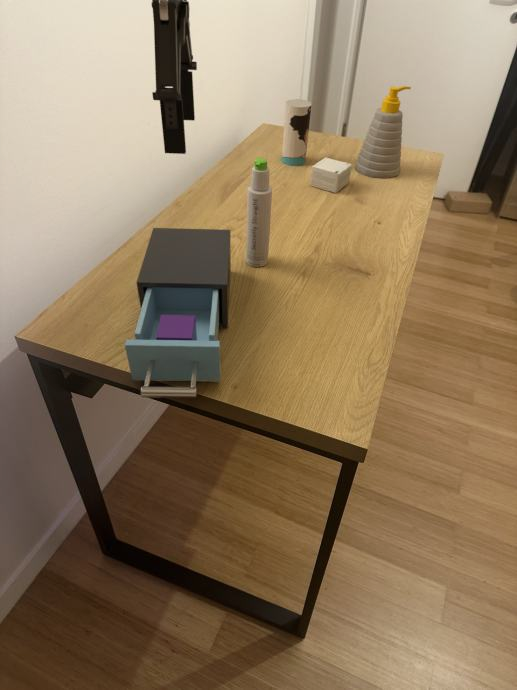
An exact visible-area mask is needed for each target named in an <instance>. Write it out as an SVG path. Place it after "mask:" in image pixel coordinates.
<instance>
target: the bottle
mask: <svg viewBox="0 0 517 690" xmlns="http://www.w3.org/2000/svg"><path fill="white" fill-rule="evenodd" d="M250 177H251V178H250V181H251V182H250V185H248V186H247V191H246V192H247V194H246V195H247V197H246V235H245V236H246V237H245V238H246V240H245V241H246V242H245V262H246V264H247V265H249V266H250V267H254V268H261V267H264V266H266V265H267V264H268V262H269V252H270V251H269V250H270V233H271V216H272V199H273V188H272V187H271V185H270V167H269V166H268V159H267V158H264V157H258V158H256V159H254V166H252V168H251V176H250Z"/></svg>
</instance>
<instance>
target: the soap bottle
mask: <svg viewBox="0 0 517 690" xmlns="http://www.w3.org/2000/svg"><path fill="white" fill-rule="evenodd" d="M411 89H412V87H411V86H406V85H403V86H389V92H388V95H386V97H385V98H383V99H382V101H381V102H382V103H381V107H379V108H377V109H376V110H375V112H374V115H373V117H372V120H371V123H370V125H369V127H368V131H367V133H366V135H365V138H364V139H363V143H362V145H361V147H360V151H359V153H358V155H357V158H356V161H355V163H354V168H355V170H356V171H357V172H358V173H359V174H360V175H363V176H366V177H369V178H370V177H371V178H375V179H391V178H394V177H397V176H398V175H399V174H400V172H401V162H402V161H401V160H402V159H401V157H402V138H403V137H402V135H403V116H404V115H403V112H402V110H400V107H401V100H399V96H398V93H399V92H403V91H404V90H411Z"/></svg>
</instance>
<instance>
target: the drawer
mask: <svg viewBox="0 0 517 690" xmlns="http://www.w3.org/2000/svg"><path fill="white" fill-rule="evenodd" d="M161 315H192V316H195V318H196V331H197V341H191V340H156V335H157V331H158V326H159V322H160V318H161ZM219 317H220V297H219V289H207V288H161V287H147V290H146V294H145V298H144V301H143V305H142V309H141V308H140V313H139V316H138V320H137V324H136V328H135V330H134V337H135V338H134V339H132V338H130V339H129V338H128V339H126V340H125V343H124V348H125V352H126V357H127V361H128V367H129V369H130V370H129V372H130V376H131V380H132V381H144V385H143V386H141V387H140V397H141V398H169V399H170V398H173V399H183V398H184V399H187V398H188V399H196V398H197V396H198V388H197V382H221V381H222V370H221V369H222V367H221V341H220V340H219V329H220V327H219ZM151 381H158V382H159V381H160V382H161V381H163V382H164V381H167V382H173V381H174V382H180V381H181V382H190V386H154V385H153V386H152V385H151Z"/></svg>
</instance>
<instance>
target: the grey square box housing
mask: <svg viewBox="0 0 517 690" xmlns="http://www.w3.org/2000/svg"><path fill="white" fill-rule="evenodd" d="M231 231H232V230H231V229H217V228H216V229H215V228H214V229H213V228H212V229H210V228H178V227H177V228H176V227H175V228H174V227H172V228H171V227H170V228H169V227H153V228H152V231H151V234H150V237H149V241H148V243H147V247H146V250H145V254H144V257H143V260H142V263H141V267H140V270H139V273H138V275H137V276H138V277H137V279H136V287H137V288H136V289H137V293H138V299H139V304H140V310H141V309H142V305H143V301H144V298H145V294H146V290H147V287H161V288H207V289H219V297H220V317H219V329H220V328H223V329H225V328H226V329H227V328H228V327H229V310H230V293H231V292H230V290H231V275H232V274H231V271H232V268H231V267H232V262H231V260H232V258H231V257H232V256H231V255H232V253H231V252H232V251H231V246H232V245H231V235H232V234H231V233H232V232H231Z"/></svg>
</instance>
